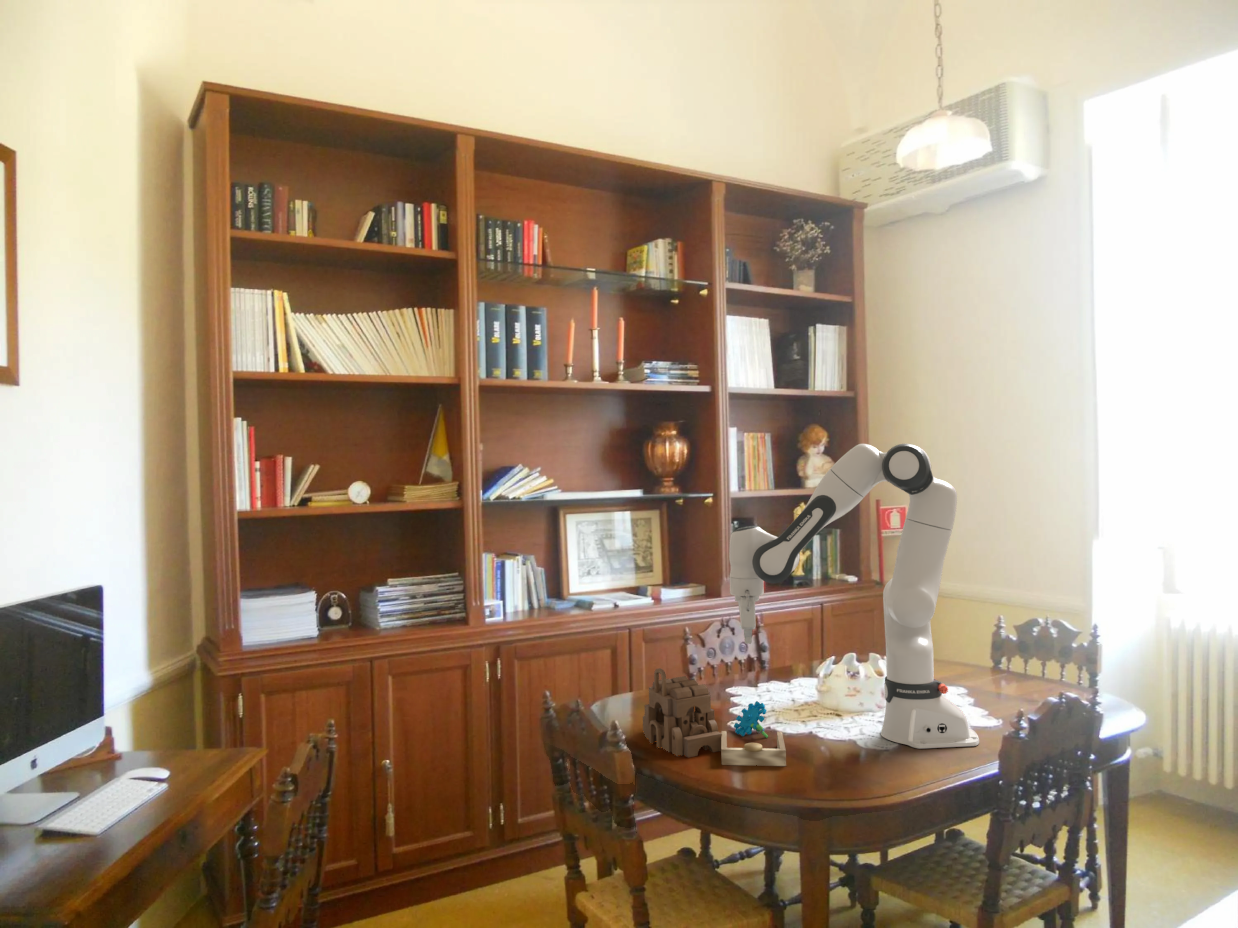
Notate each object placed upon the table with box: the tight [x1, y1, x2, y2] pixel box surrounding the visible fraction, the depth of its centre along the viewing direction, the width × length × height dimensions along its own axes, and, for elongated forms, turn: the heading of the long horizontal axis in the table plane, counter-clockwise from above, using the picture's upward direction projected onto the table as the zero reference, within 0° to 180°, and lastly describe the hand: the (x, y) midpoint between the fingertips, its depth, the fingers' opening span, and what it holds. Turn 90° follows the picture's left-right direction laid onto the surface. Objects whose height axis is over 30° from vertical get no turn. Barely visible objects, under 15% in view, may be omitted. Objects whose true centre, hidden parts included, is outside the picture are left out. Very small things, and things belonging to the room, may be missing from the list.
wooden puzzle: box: [642, 668, 722, 758], centre depth 214 cm, size 22×15×19 cm, turn 26°
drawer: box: [720, 730, 787, 767], centre depth 202 cm, size 14×15×4 cm
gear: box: [733, 700, 769, 739], centre depth 219 cm, size 11×6×10 cm
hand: (747, 640), depth 229 cm, fingers open, 6 cm apart
